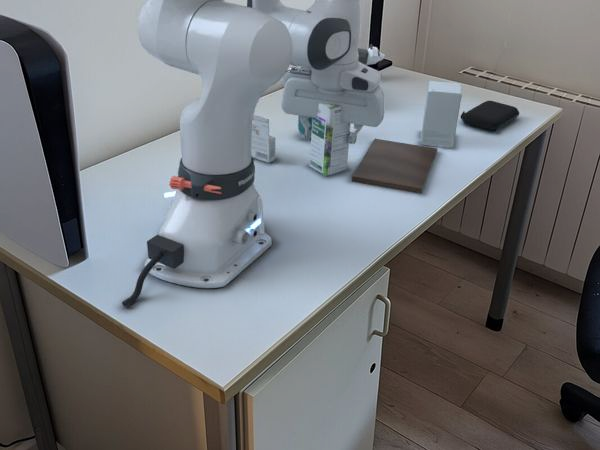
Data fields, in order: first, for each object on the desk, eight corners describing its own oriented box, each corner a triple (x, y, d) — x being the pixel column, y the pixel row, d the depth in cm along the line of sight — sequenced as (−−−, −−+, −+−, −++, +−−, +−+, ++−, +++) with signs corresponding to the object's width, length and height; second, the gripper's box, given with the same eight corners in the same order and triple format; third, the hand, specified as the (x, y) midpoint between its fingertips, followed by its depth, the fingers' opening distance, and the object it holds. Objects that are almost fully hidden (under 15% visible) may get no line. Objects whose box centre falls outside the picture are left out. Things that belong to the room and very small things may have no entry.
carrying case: (480, 107, 172) (453, 123, 162) (482, 96, 171) (455, 111, 161) (520, 118, 167) (494, 136, 157) (523, 106, 165) (497, 123, 155)
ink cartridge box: (234, 146, 147) (233, 103, 142) (275, 159, 142) (276, 116, 137) (227, 150, 145) (226, 106, 140) (268, 163, 140) (269, 119, 135)
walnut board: (421, 193, 131) (422, 188, 130) (351, 181, 135) (352, 176, 134) (437, 153, 147) (437, 148, 147) (374, 143, 151) (374, 138, 150)
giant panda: (331, 81, 186) (333, 47, 181) (329, 75, 190) (331, 41, 185) (384, 82, 187) (387, 47, 182) (381, 75, 191) (384, 42, 186)
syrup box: (308, 166, 140) (311, 99, 132) (330, 159, 143) (334, 94, 135) (325, 177, 136) (329, 108, 128) (348, 170, 139) (353, 102, 132)
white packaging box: (453, 148, 150) (462, 94, 143) (419, 145, 151) (427, 90, 144) (453, 135, 156) (462, 82, 149) (421, 132, 157) (428, 79, 151)
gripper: (277, 70, 129) (276, 137, 136) (382, 84, 124) (376, 153, 131) (288, 60, 134) (287, 125, 142) (389, 74, 129) (383, 140, 136)
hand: (330, 139), depth 136 cm, fingers closed on syrup box, 7 cm apart
